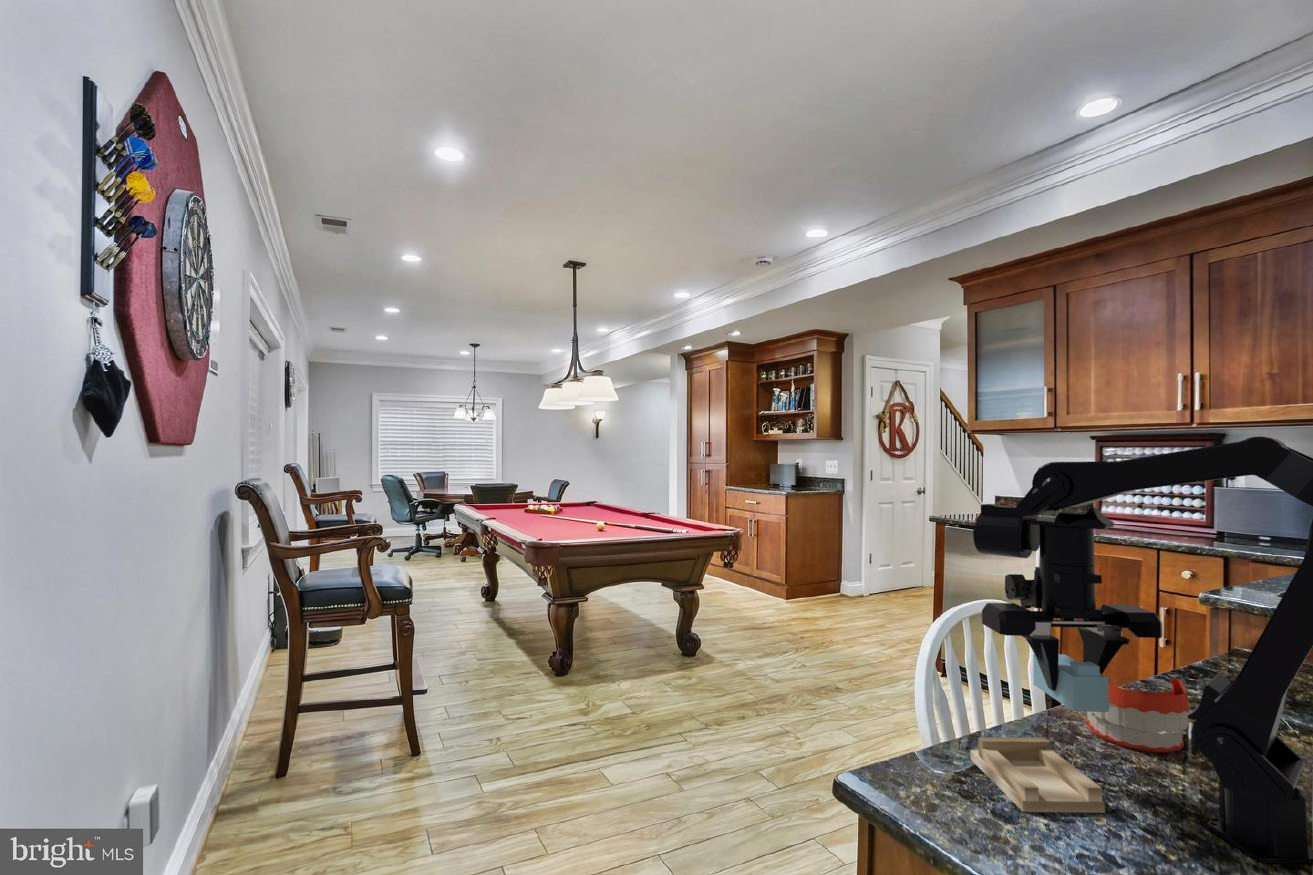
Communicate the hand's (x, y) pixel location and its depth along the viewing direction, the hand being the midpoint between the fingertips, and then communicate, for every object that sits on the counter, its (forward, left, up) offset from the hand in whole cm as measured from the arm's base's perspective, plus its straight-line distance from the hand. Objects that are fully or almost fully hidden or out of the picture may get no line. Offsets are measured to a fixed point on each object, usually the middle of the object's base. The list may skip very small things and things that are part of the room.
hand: (1070, 689), depth 80 cm
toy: (+12, -16, -12) cm, 23 cm away
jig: (0, +5, -11) cm, 12 cm away
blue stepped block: (0, 0, -1) cm, 1 cm away
